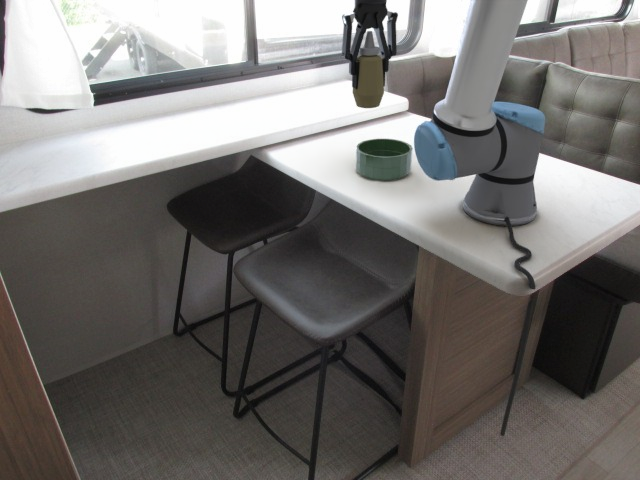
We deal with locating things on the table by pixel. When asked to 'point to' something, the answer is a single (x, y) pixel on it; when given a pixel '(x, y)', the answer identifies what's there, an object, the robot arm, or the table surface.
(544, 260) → the table surface
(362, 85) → the squeeze bottle
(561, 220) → the table surface
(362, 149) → the bowl
